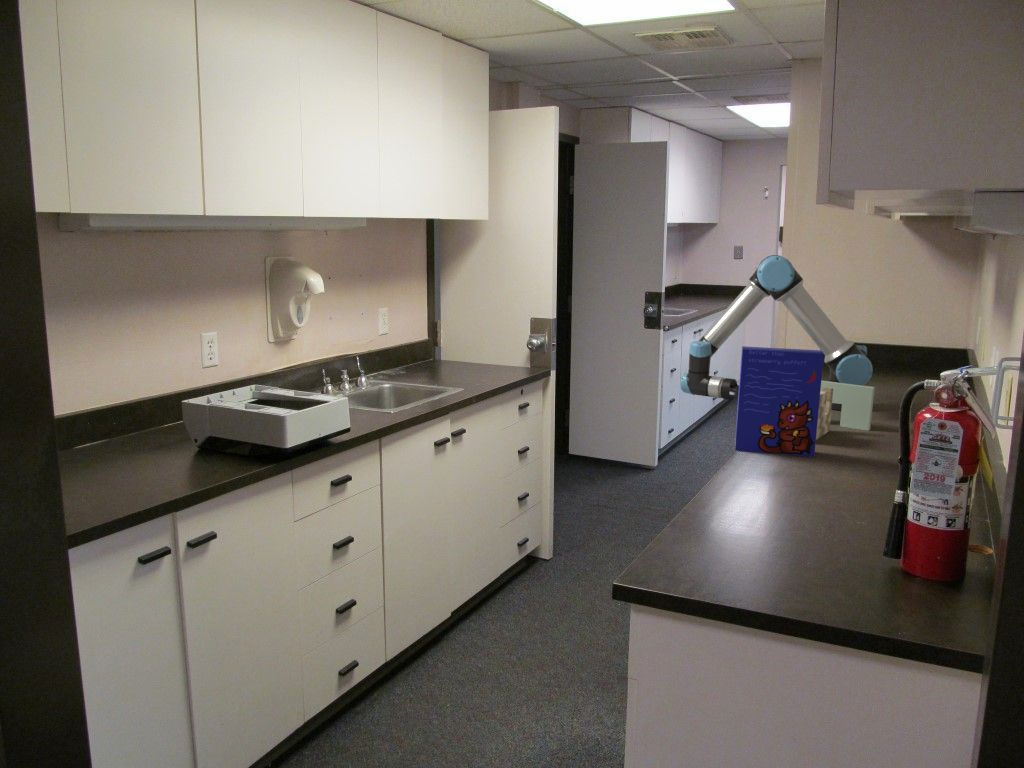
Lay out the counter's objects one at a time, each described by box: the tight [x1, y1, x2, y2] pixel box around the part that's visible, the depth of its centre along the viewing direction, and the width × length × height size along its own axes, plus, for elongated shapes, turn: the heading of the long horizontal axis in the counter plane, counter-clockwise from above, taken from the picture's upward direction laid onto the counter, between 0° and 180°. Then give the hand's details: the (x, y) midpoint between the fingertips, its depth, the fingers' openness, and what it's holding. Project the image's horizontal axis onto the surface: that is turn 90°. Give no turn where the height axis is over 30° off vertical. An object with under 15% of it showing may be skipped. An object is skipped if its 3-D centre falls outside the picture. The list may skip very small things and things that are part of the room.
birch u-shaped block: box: [816, 387, 833, 441], centre depth 255 cm, size 20×2×14 cm, turn 144°
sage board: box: [820, 380, 876, 431], centre depth 271 cm, size 22×2×14 cm, turn 54°
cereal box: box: [734, 345, 825, 458], centre depth 236 cm, size 22×6×30 cm, turn 76°
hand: (782, 396), depth 281 cm, fingers open, 13 cm apart
